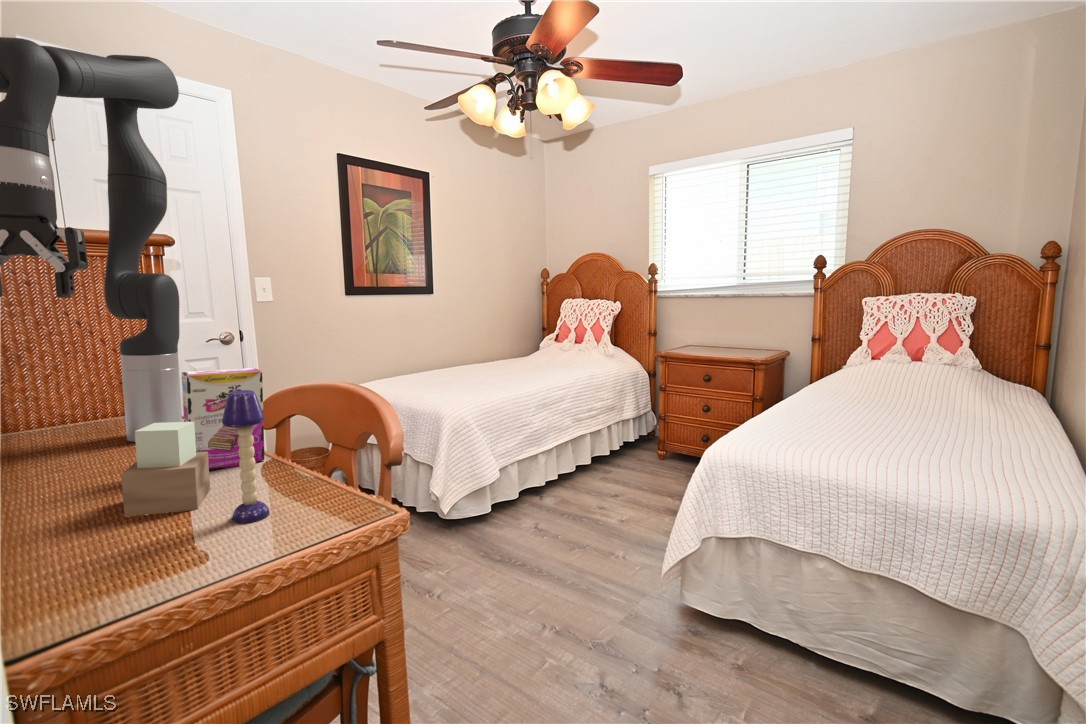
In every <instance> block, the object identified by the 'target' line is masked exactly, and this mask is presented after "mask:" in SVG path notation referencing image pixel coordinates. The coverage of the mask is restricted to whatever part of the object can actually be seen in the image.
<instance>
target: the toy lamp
mask: <svg viewBox="0 0 1086 724" xmlns="http://www.w3.org/2000/svg"><path fill="white" fill-rule="evenodd" d="M264 420H265V415H264V411H263V412H262V409H261V406H260V404H259V401H258V398H257V396H256V394H255V392H254V391H252V390H239V391H234V392H230V393H229V394H228V397H227V401H226V405H225V410H224V414H223V419H222V424H223V425H224V426H226V427H237V433H238V435H239V437H238V445H239V446H240V448H239V457H240V458H241V459H240V463H239V465H238V466H239V469H240V474H239V478H240V480H241V484H240V487H241V488H240V489H241V492H242V494H241V501H242V503H241V504H239V505H237V507H236V508H235V509H234V511H233V513H232V518H231V519H232V521H233V522H234V523H238V524H247V523H248V524H249V523H254V522H258V521H261V520H263V519H265V518H267V517H268V516H269V515H270V510H269V509H270V508H269V507H268V505H267V504H266V503H265V502H263V501H260V500H258V497H259V496H258V492H257V487H258V484H257V483H258V482H257V481H256V477H257V472H256V469H255V467H256V462H255V459H254V457H253V456H254V453H255V451H254V447H253V446H252V445H253V443H254V438H253V435H252V432H253V426H252V425H256V424H260V423H261V422H263V421H264ZM264 422H265V421H264Z"/></svg>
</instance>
